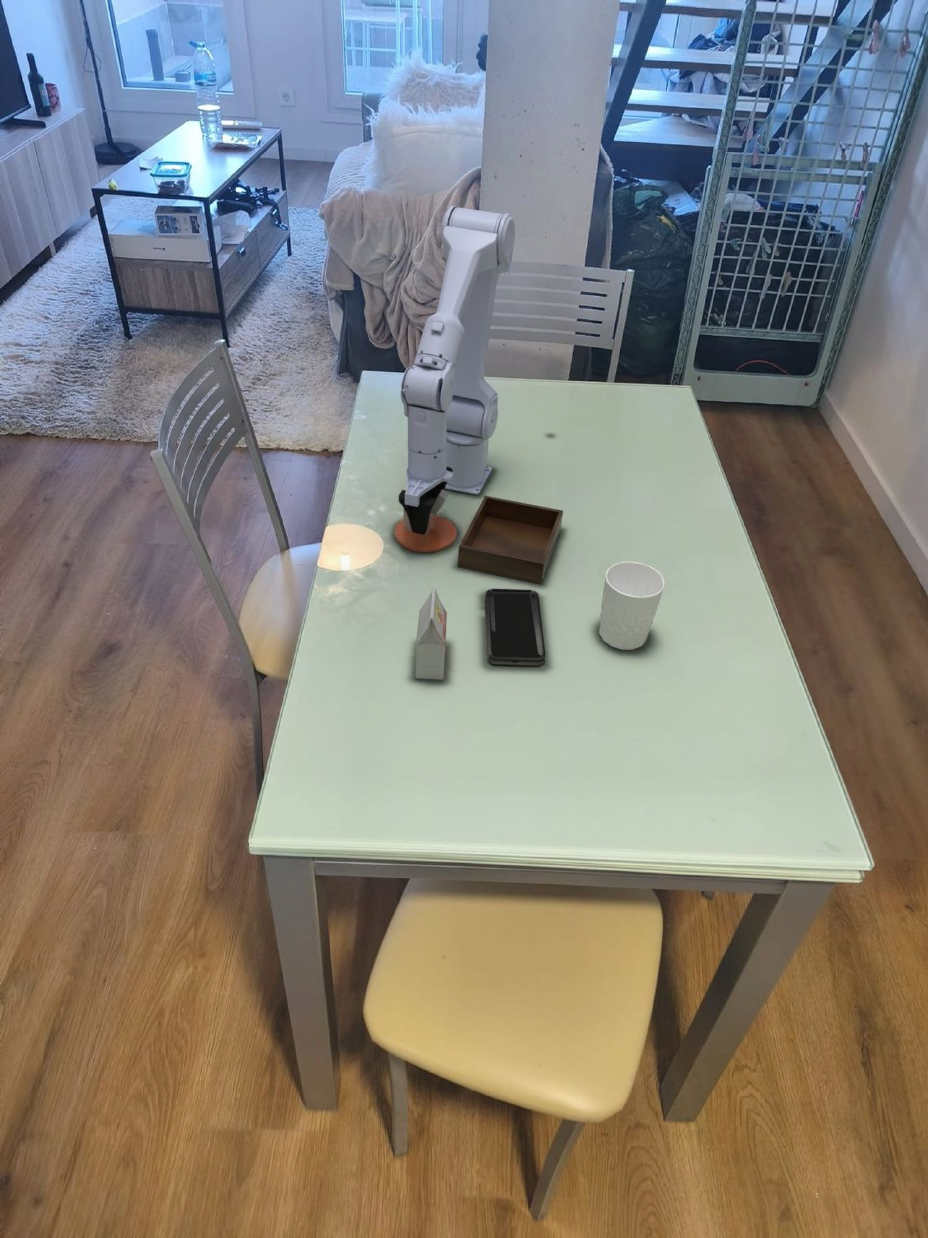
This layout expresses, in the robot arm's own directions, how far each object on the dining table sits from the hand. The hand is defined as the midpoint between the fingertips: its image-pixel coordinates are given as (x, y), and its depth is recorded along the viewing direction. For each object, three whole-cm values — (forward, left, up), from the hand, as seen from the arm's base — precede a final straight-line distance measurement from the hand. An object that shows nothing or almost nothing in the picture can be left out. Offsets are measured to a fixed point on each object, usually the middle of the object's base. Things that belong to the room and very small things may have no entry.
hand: (425, 520), depth 131 cm
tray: (-1, +14, -3) cm, 14 cm away
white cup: (+14, +34, -3) cm, 37 cm away
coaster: (0, 0, -3) cm, 3 cm away
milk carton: (+28, +10, -3) cm, 30 cm away
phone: (+18, +19, -3) cm, 26 cm away
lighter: (0, 0, -2) cm, 2 cm away
